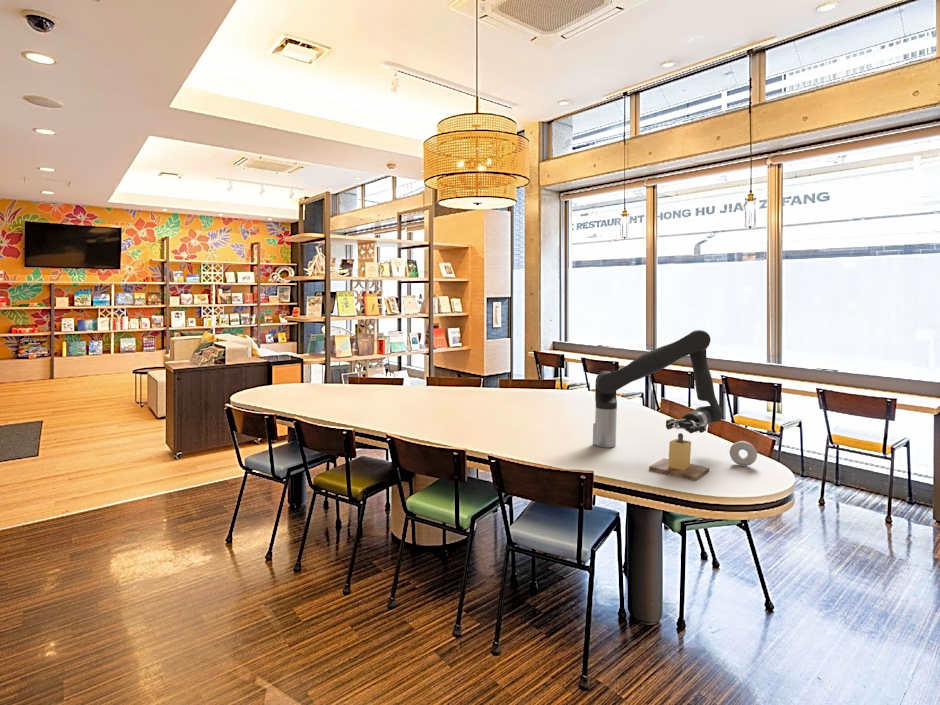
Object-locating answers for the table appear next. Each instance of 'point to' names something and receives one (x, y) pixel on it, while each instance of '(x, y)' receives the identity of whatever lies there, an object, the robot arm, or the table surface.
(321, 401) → the table surface
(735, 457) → the donut
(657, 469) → the spindle stand
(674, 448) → the bead
